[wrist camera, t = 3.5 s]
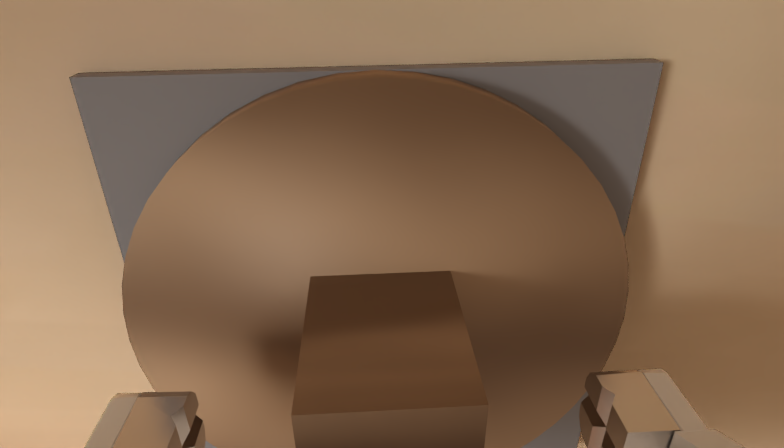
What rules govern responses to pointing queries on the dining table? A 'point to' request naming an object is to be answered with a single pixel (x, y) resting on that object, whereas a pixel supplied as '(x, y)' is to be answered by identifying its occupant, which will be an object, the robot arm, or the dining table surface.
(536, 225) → the lid
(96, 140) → the mat
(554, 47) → the dining table surface
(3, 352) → the dining table surface
